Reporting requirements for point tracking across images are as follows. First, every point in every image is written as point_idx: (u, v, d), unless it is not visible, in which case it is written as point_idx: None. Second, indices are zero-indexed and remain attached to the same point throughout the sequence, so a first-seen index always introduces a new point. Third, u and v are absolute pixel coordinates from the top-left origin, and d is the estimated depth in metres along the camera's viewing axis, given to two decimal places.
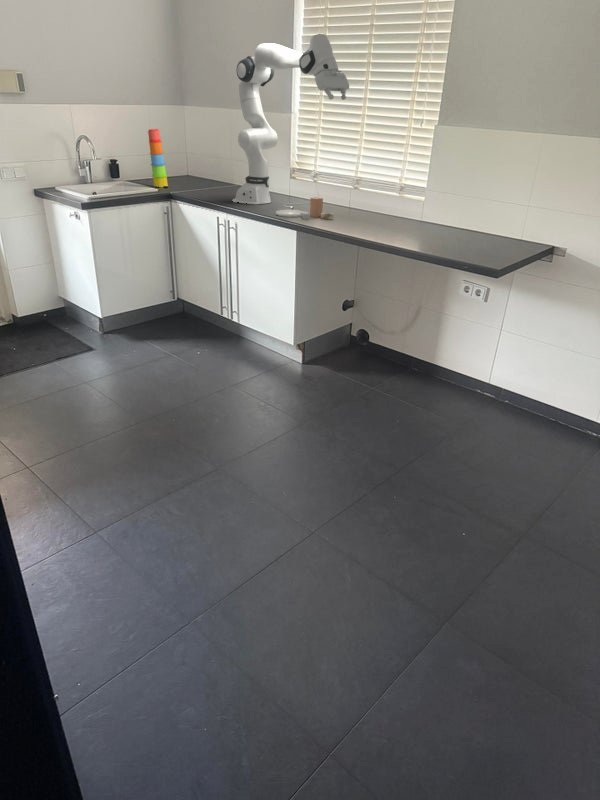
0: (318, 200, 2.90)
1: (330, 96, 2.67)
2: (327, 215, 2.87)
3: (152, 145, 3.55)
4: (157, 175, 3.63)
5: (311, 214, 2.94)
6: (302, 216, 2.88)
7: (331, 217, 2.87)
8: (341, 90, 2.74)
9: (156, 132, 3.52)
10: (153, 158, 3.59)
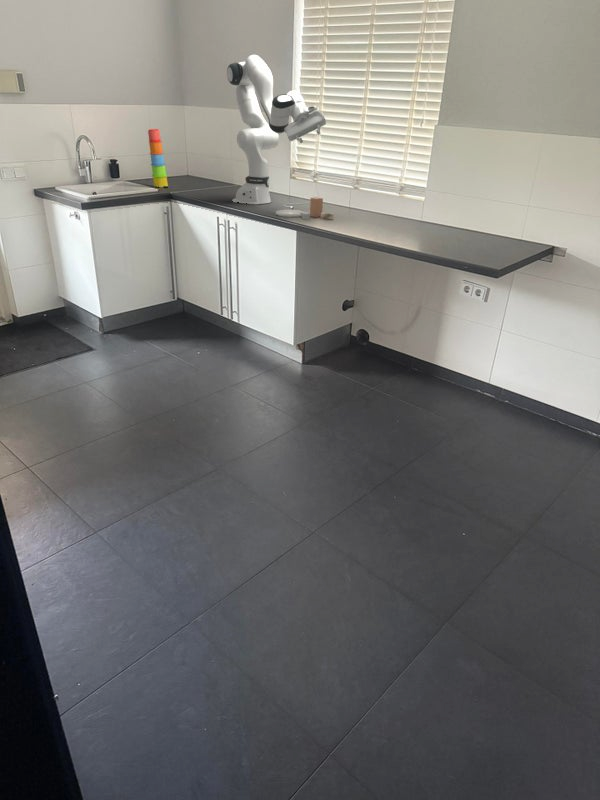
0: (318, 200, 2.90)
1: (319, 131, 2.78)
2: (327, 215, 2.87)
3: (152, 145, 3.55)
4: (157, 175, 3.63)
5: (311, 214, 2.94)
6: (302, 216, 2.88)
7: (331, 217, 2.87)
8: (298, 135, 2.81)
9: (156, 132, 3.52)
10: (153, 158, 3.59)
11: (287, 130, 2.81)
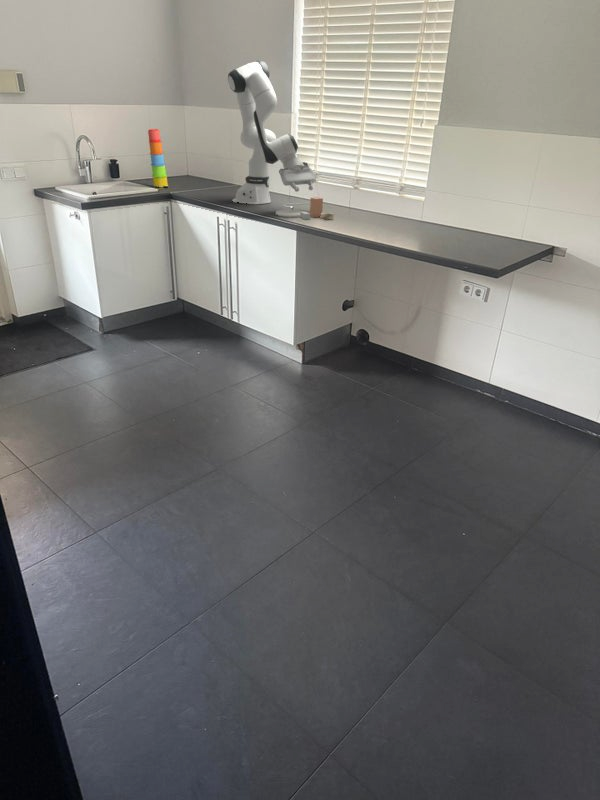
0: (318, 200, 2.90)
1: None
2: (327, 215, 2.87)
3: (152, 145, 3.55)
4: (157, 175, 3.63)
5: (311, 214, 2.94)
6: (302, 216, 2.88)
7: (331, 217, 2.88)
8: None
9: (156, 132, 3.52)
10: (153, 158, 3.59)
11: (285, 174, 2.89)
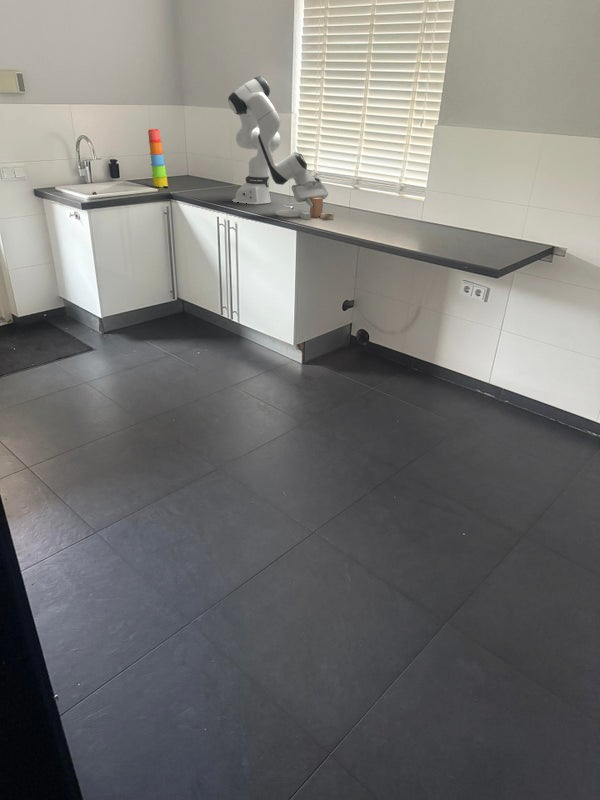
0: (318, 200, 2.90)
1: None
2: (328, 215, 2.87)
3: (152, 145, 3.55)
4: (157, 175, 3.63)
5: (311, 214, 2.94)
6: (302, 216, 2.88)
7: (331, 217, 2.88)
8: None
9: (156, 132, 3.52)
10: (153, 158, 3.59)
11: (298, 191, 2.87)
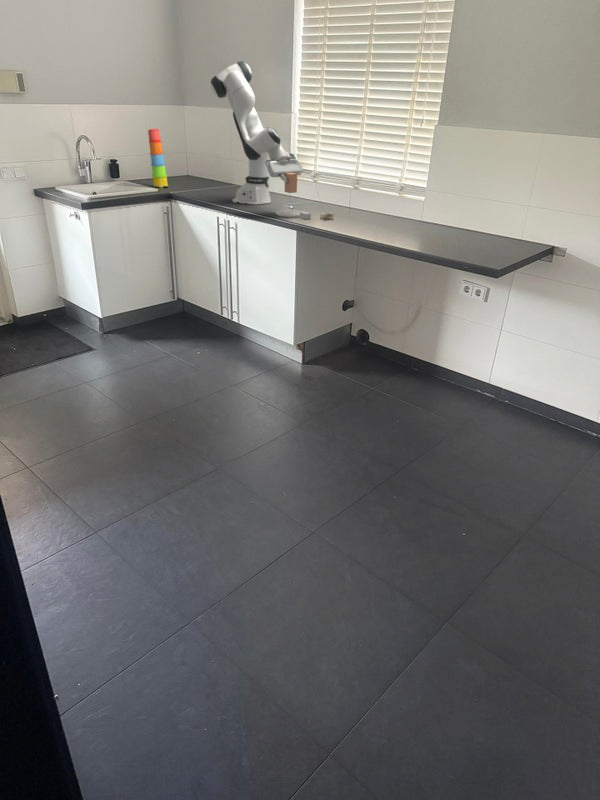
0: (292, 175, 2.86)
1: None
2: (328, 215, 2.87)
3: (152, 145, 3.55)
4: (157, 175, 3.63)
5: (286, 190, 2.91)
6: (302, 216, 2.88)
7: (331, 217, 2.88)
8: None
9: (156, 132, 3.52)
10: (153, 158, 3.59)
11: (271, 166, 2.84)
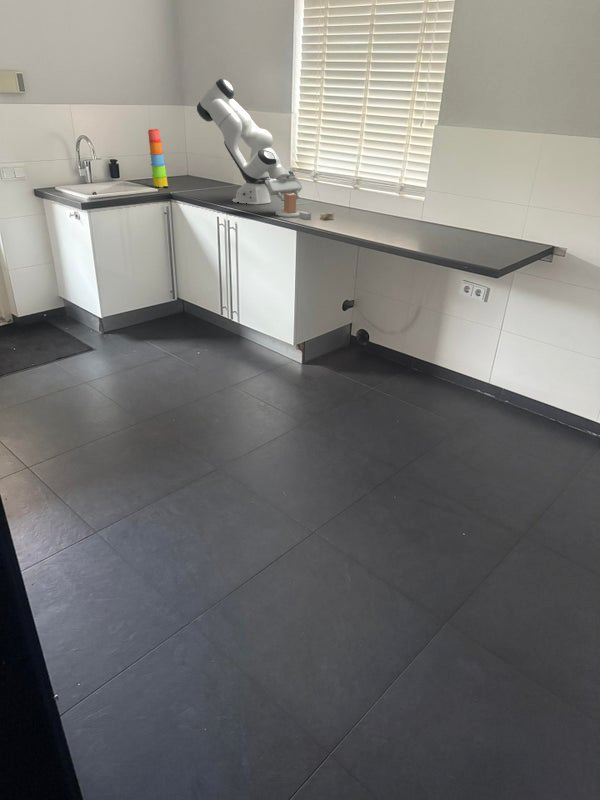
0: (291, 196, 2.91)
1: None
2: (328, 215, 2.87)
3: (152, 145, 3.55)
4: (157, 175, 3.63)
5: (285, 210, 2.96)
6: (303, 216, 2.88)
7: (332, 217, 2.88)
8: None
9: (156, 132, 3.52)
10: (153, 158, 3.59)
11: (271, 184, 2.88)
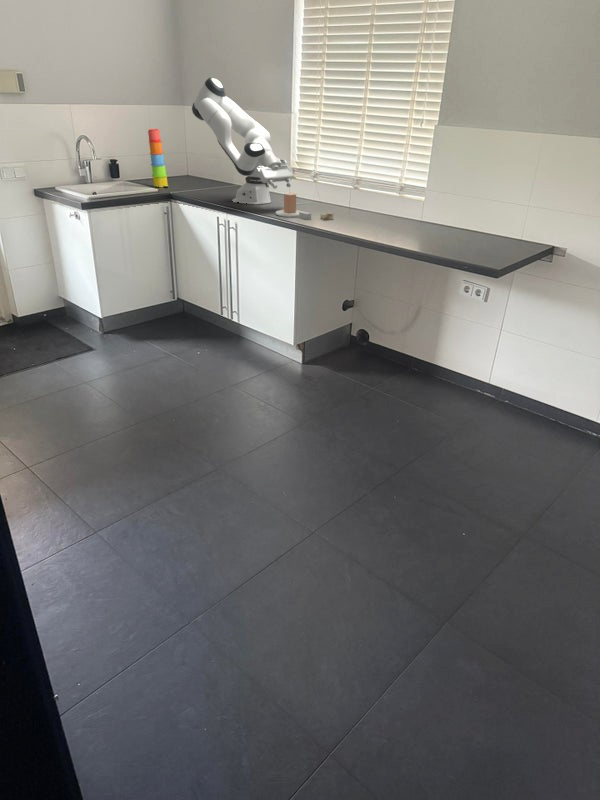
0: (291, 196, 2.91)
1: None
2: (328, 215, 2.87)
3: (152, 145, 3.55)
4: (157, 175, 3.63)
5: (285, 210, 2.96)
6: (303, 216, 2.88)
7: (332, 217, 2.88)
8: None
9: (156, 132, 3.52)
10: (153, 158, 3.59)
11: (263, 172, 2.93)
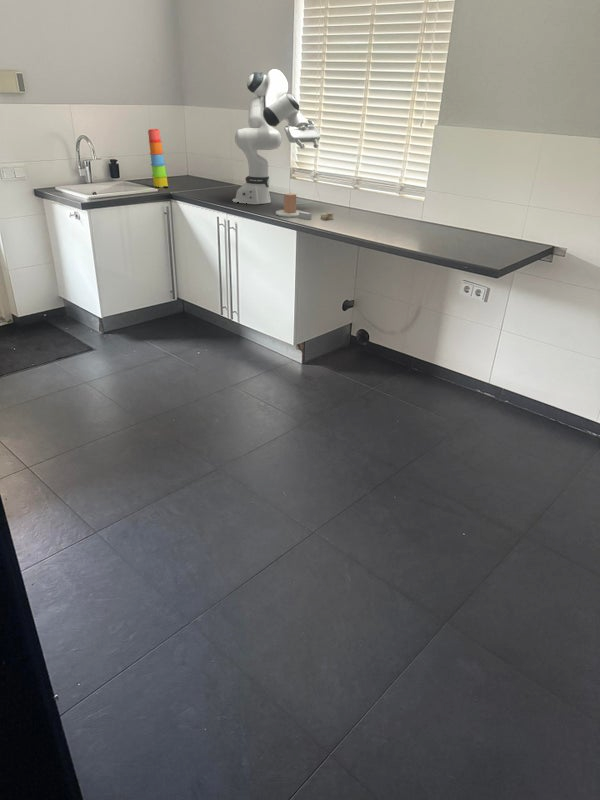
0: (291, 196, 2.91)
1: None
2: (329, 215, 2.87)
3: (152, 145, 3.55)
4: (157, 175, 3.63)
5: (285, 210, 2.96)
6: (303, 216, 2.88)
7: (331, 216, 2.89)
8: None
9: (156, 132, 3.52)
10: (153, 158, 3.59)
11: (290, 131, 2.92)
